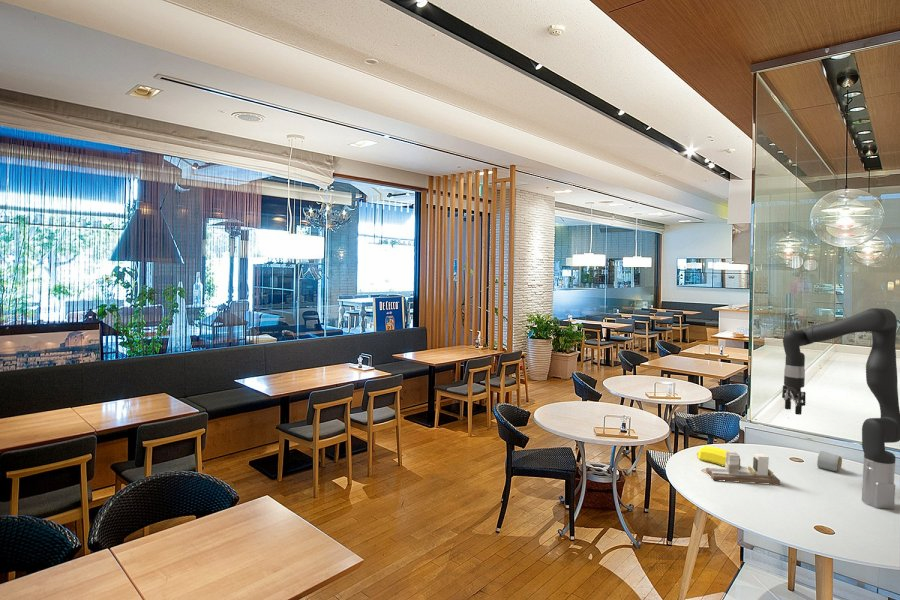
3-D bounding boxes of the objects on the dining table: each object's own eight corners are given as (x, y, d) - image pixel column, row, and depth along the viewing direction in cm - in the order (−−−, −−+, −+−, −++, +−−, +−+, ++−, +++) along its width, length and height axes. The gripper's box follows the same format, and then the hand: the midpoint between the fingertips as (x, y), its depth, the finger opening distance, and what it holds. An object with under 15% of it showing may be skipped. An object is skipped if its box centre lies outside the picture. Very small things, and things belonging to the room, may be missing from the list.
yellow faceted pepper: (700, 455, 248) (693, 459, 243) (700, 442, 247) (693, 445, 242) (740, 466, 234) (734, 470, 229) (741, 452, 234) (734, 456, 229)
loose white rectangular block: (767, 475, 217) (768, 457, 216) (756, 475, 218) (757, 456, 217) (763, 472, 221) (764, 453, 220) (752, 471, 221) (753, 453, 221)
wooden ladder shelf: (779, 484, 214) (780, 459, 213) (713, 480, 218) (714, 456, 217) (769, 476, 223) (770, 452, 222) (706, 472, 227) (706, 448, 226)
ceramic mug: (838, 474, 225) (839, 457, 225) (816, 469, 231) (817, 452, 231) (843, 468, 233) (844, 451, 233) (821, 463, 239) (822, 447, 238)
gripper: (813, 379, 218) (811, 416, 219) (794, 372, 232) (793, 407, 233) (794, 378, 219) (792, 415, 220) (777, 372, 233) (775, 407, 234)
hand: (792, 411), depth 226 cm, fingers open, 8 cm apart
